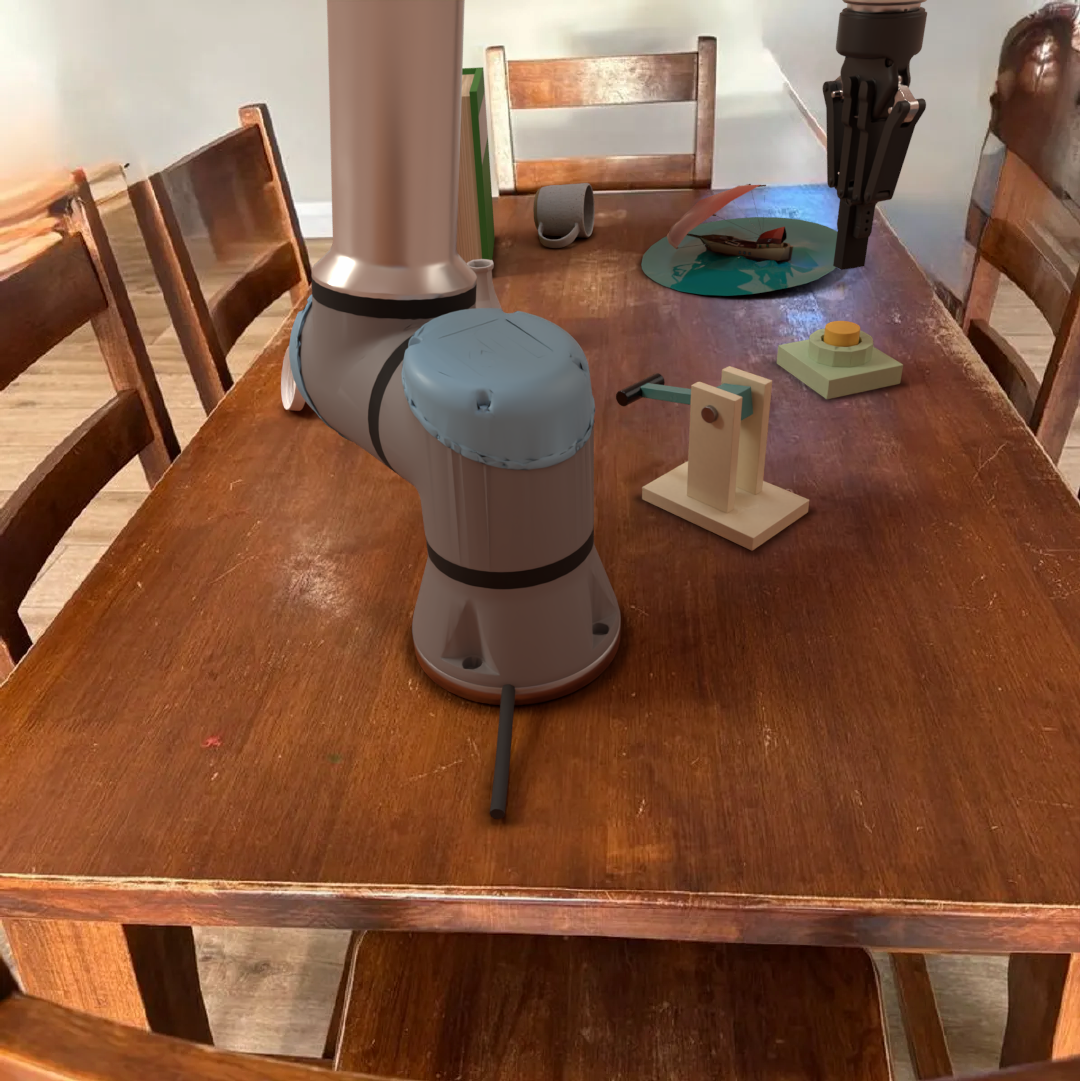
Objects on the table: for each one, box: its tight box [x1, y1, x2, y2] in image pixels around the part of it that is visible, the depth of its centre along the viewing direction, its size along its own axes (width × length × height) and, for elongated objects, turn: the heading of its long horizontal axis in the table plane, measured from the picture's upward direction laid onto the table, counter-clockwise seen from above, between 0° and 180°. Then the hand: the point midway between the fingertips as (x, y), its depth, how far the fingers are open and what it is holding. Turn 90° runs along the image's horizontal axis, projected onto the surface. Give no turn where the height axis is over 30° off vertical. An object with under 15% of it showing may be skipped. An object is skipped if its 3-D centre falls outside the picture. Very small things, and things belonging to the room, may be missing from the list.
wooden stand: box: [641, 365, 810, 552], centre depth 85 cm, size 12×8×12 cm, turn 44°
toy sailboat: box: [640, 183, 838, 297], centre depth 137 cm, size 28×28×11 cm
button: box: [823, 320, 861, 347], centre depth 107 cm, size 4×4×2 cm
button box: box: [776, 327, 904, 400], centre depth 109 cm, size 10×9×4 cm
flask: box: [467, 259, 503, 310], centre depth 118 cm, size 7×7×10 cm
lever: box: [615, 372, 753, 421], centre depth 86 cm, size 12×5×2 cm, turn 44°
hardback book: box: [457, 66, 496, 263], centre depth 141 cm, size 18×7×24 cm, turn 0°
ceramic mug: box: [532, 182, 596, 249], centre depth 151 cm, size 11×8×8 cm
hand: (848, 265), depth 103 cm, fingers closed
